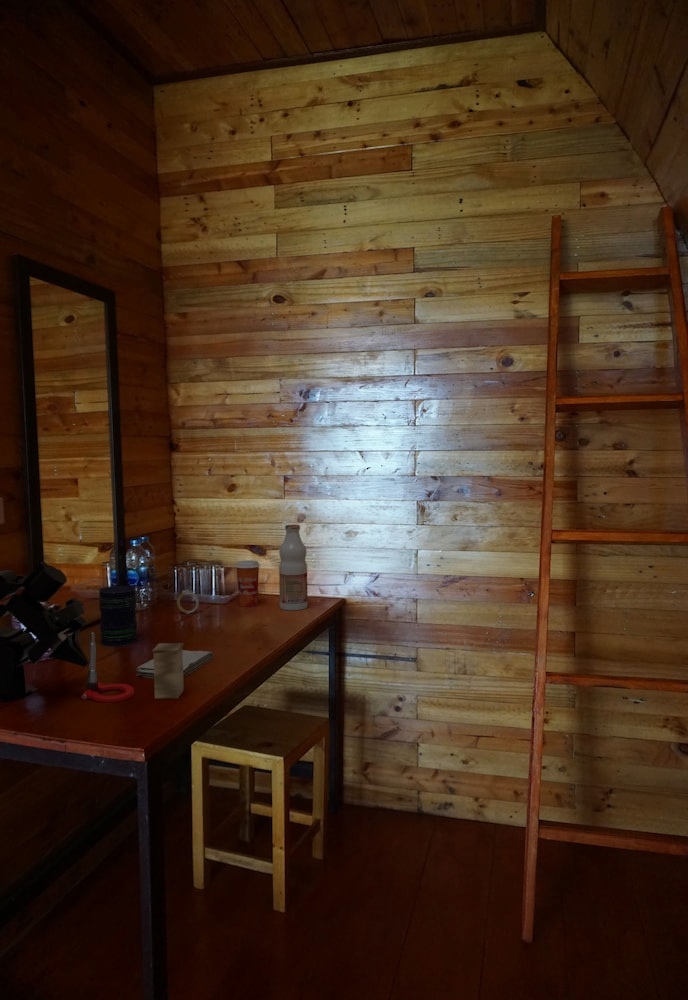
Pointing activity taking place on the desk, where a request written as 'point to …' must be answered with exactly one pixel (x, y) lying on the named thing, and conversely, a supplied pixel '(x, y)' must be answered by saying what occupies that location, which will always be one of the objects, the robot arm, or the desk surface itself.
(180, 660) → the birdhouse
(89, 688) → the tow hook
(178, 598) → the ring
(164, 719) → the desk surface
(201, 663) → the washcloth
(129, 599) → the storage jar
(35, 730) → the desk surface
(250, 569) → the coffee cup
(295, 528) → the fruit juice
